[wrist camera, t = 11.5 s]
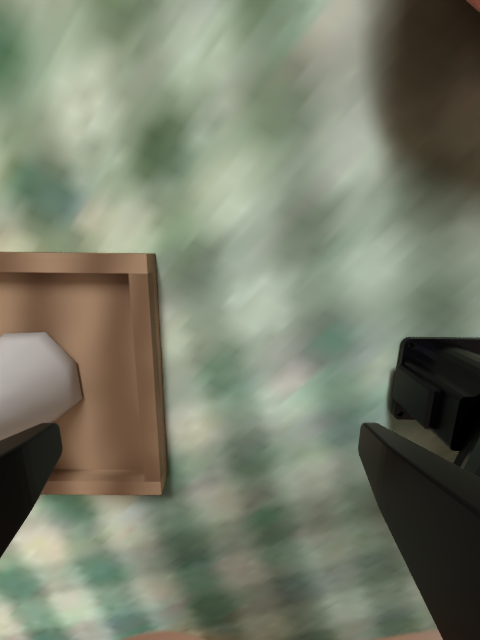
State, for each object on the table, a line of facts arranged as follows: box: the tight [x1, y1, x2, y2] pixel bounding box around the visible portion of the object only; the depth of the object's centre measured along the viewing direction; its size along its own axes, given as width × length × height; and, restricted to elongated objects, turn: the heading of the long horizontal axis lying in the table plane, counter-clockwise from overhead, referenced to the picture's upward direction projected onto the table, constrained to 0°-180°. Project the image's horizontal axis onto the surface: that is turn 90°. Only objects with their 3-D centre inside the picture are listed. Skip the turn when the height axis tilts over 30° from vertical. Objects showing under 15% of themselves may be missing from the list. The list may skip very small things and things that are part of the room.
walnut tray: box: [0, 252, 168, 495], centre depth 21 cm, size 18×18×2 cm
